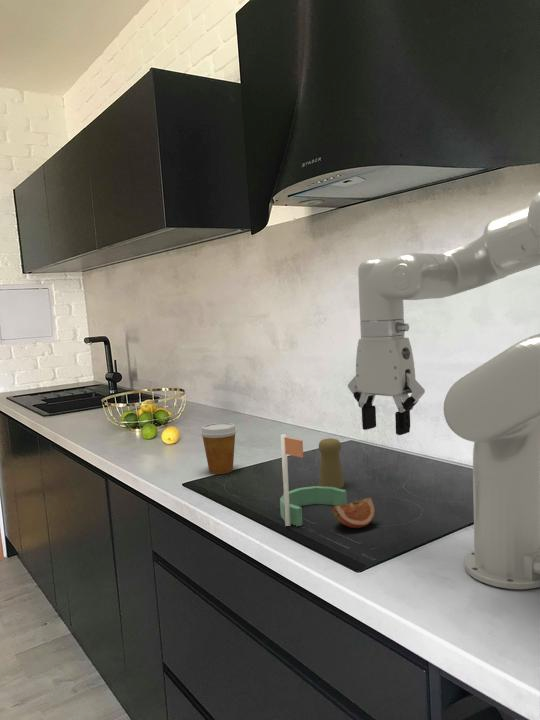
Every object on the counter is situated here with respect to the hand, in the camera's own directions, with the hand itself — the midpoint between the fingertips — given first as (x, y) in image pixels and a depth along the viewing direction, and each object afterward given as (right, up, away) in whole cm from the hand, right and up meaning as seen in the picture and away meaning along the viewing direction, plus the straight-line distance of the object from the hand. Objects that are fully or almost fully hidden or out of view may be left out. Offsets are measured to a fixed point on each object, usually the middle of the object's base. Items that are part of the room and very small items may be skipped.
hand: (385, 430), depth 104 cm
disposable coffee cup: (-33, -17, +51) cm, 63 cm away
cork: (-6, -17, +34) cm, 38 cm away
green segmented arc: (-12, -19, +16) cm, 27 cm away
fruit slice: (-5, -20, +8) cm, 22 cm away
